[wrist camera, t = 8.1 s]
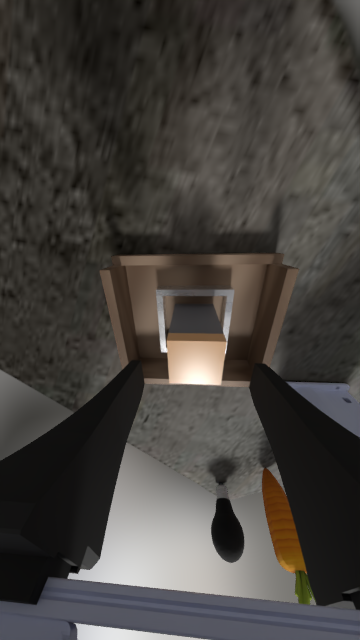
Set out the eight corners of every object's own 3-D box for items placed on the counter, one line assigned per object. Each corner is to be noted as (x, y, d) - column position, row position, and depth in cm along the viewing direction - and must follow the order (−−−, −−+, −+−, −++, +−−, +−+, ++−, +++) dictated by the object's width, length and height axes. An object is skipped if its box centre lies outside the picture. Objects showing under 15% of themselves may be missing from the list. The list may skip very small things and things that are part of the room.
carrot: (277, 460, 31) (343, 629, 18) (279, 472, 33) (340, 632, 20) (250, 463, 32) (294, 624, 19) (254, 474, 34) (295, 628, 21)
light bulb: (204, 486, 38) (208, 562, 29) (212, 475, 35) (220, 556, 26) (228, 490, 38) (240, 567, 29) (238, 480, 35) (254, 561, 26)
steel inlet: (230, 285, 16) (234, 289, 15) (223, 345, 19) (225, 353, 18) (158, 285, 16) (155, 289, 15) (163, 344, 20) (161, 352, 18)
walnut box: (275, 252, 15) (302, 257, 11) (250, 362, 21) (263, 387, 17) (117, 254, 16) (97, 259, 12) (136, 359, 22) (125, 383, 18)
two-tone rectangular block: (213, 303, 17) (226, 341, 11) (210, 336, 19) (220, 384, 13) (175, 303, 17) (166, 340, 11) (176, 335, 19) (169, 383, 13)
